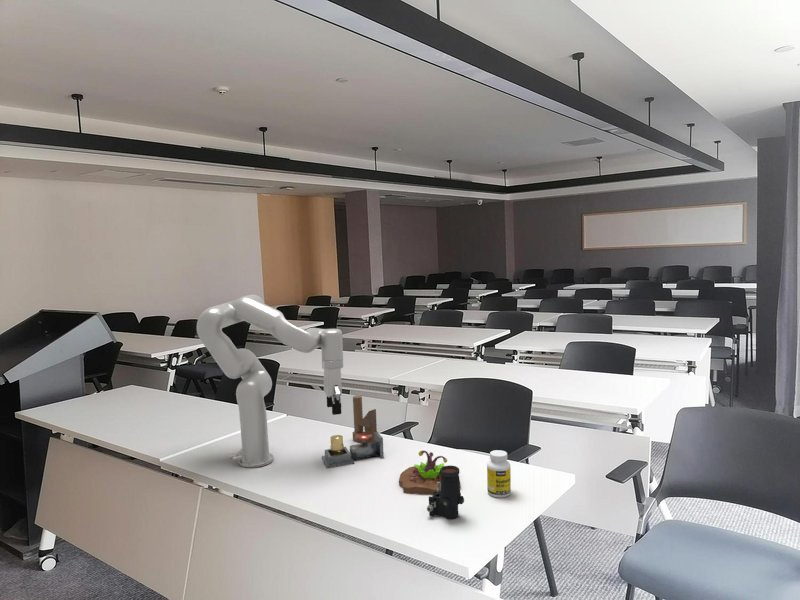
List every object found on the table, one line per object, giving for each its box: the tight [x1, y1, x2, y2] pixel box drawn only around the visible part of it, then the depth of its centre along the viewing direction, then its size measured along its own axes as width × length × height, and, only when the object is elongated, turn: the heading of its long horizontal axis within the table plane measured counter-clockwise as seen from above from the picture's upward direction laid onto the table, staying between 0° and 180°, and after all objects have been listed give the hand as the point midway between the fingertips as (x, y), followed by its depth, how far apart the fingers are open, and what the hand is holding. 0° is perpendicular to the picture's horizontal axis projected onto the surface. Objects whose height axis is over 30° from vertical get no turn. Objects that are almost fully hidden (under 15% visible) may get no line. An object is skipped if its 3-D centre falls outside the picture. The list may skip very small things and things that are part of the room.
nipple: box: [329, 434, 345, 456], centre depth 208 cm, size 5×5×8 cm
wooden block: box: [352, 395, 378, 444], centre depth 226 cm, size 4×11×18 cm, turn 46°
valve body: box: [321, 431, 385, 469], centre depth 210 cm, size 21×10×8 cm, turn 108°
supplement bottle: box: [486, 449, 512, 498], centre depth 176 cm, size 7×7×13 cm
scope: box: [426, 465, 465, 520], centre depth 164 cm, size 8×14×10 cm
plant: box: [398, 450, 448, 496], centre depth 187 cm, size 20×20×11 cm
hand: (334, 410), depth 206 cm, fingers open, 9 cm apart
